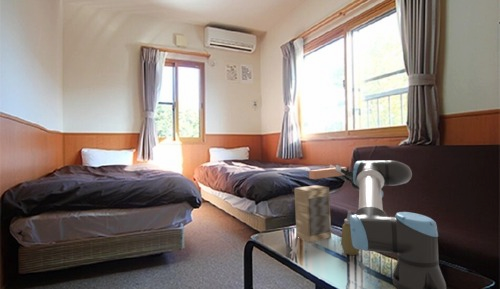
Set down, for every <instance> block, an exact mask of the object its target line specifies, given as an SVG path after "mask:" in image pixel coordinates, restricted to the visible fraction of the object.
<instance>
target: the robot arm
mask: <svg viewBox="0 0 500 289" xmlns="http://www.w3.org/2000/svg"><path fill="white" fill-rule="evenodd" d="M341 167H342V166H340V165H339V164H336V166H334V165H333V164H329V167H328V168H335V170H336V171H338V172H339V173H341V174H343V175H342V176H337V177H338V178H340V179H342V180H343V181H344V182H346V181H347V182H348V183H349V184H351V187H352V188H353V189H355V190H357V191H358V192H359V196H358V209H357V210H356V211H355V212H354V213H353V214H352V215H350V217H349V220H350V230H351V239H352V245H353V247H354V248H356V249H360V250H361V251H366V252H367V251H369V252H379V253H389V254H390V253H391V254H397V261H396V264H395V267H394V270H393V274H392V284H393V286H395V288H396V289H447V283H446V281H445V278H444V275H443V273H442V270H441V268H440V265H439V264H440V263H439V242H438V240H439V239H438V237H439V233H438V226H437V222H436V221H435V220H434V219H432V218H431V217H430V216H427V215H424V214H420V213H415V212H409V211H399V212H396V214H395V216H388V215H387V213H386V212H385V211H384V209H383V199H382V198H383V197H384V191H383V190H382V189H383V187H386V186H387V187H388V186H389V187H390V186H391V187H392V186H400V185H404V184H407V183H409V181H410V180H411V179H412V176H413V173H412V172H413V171H412V169H411V168H410V166H409V165H408V164H405V163H403V162H400V161H399V160H391V159H389V160H357V161H355V163H354V165H353V170H352V171H350V170H349V169H348V168H347V170H345V169H343V168H341ZM344 174H345V175H344ZM360 250H359V251H360Z"/></svg>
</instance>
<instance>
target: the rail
mask: <svg viewBox="0 0 500 289" xmlns="http://www.w3.org/2000/svg"><path fill="white" fill-rule="evenodd" d="M340 167H341V168H343V169H345V170H347V169H348V168H347V166H340ZM342 175H343V174H341V173H339V172H338V171H336V170H335V168H329V167H327V168H320V169H311V170H308V176H309V179H312V180H317V179H325V178H332V177H334V178H335V177H338V176H342ZM344 175H345V174H344Z"/></svg>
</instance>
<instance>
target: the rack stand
mask: <svg viewBox="0 0 500 289" xmlns="http://www.w3.org/2000/svg"><path fill="white" fill-rule="evenodd" d="M293 190H294V208H295V210H294V211H295V230H296V232H295V233H296V235H295V236H296V238H298V237H299V238H298V239H300V238H301V239H300V240H302V241H304V242H307V243H308V244H309V243H312V242H313V243H314V242H317V241H322V240H324V239H329V238H332V222H331V202H330V201H331V200H330V187H329V186H324V185H317V184H316V185H309V186H301V187H294V189H293Z"/></svg>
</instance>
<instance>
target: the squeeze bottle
mask: <svg viewBox="0 0 500 289" xmlns="http://www.w3.org/2000/svg"><path fill="white" fill-rule="evenodd" d="M350 215H353V214H352V211H351V210H347V216H346V218H345V219H344V222H343V224H342V226H341V240H340V241H341V243H340V245H341V247H342V249H343V252H344V254H346V255H350V256H356V255H359V252H360V249H356V248H354V247H353V245H352V239H351V230H350V220H349V217H350Z"/></svg>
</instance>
